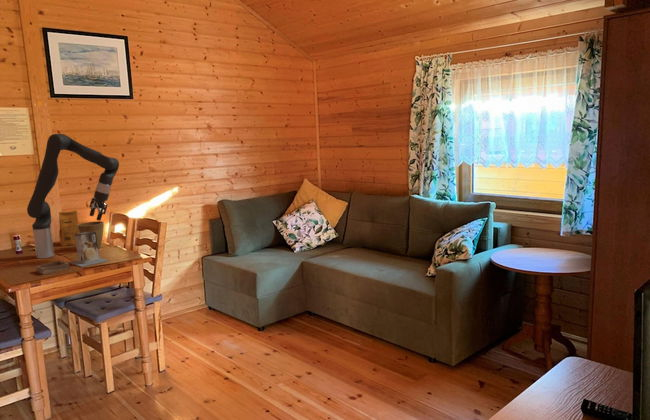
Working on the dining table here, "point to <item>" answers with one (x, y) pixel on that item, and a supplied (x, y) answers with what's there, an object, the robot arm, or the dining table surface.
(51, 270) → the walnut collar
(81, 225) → the plant pot
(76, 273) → the dining table surface
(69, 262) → the rubber mat
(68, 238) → the coffee package
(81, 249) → the coffee box
